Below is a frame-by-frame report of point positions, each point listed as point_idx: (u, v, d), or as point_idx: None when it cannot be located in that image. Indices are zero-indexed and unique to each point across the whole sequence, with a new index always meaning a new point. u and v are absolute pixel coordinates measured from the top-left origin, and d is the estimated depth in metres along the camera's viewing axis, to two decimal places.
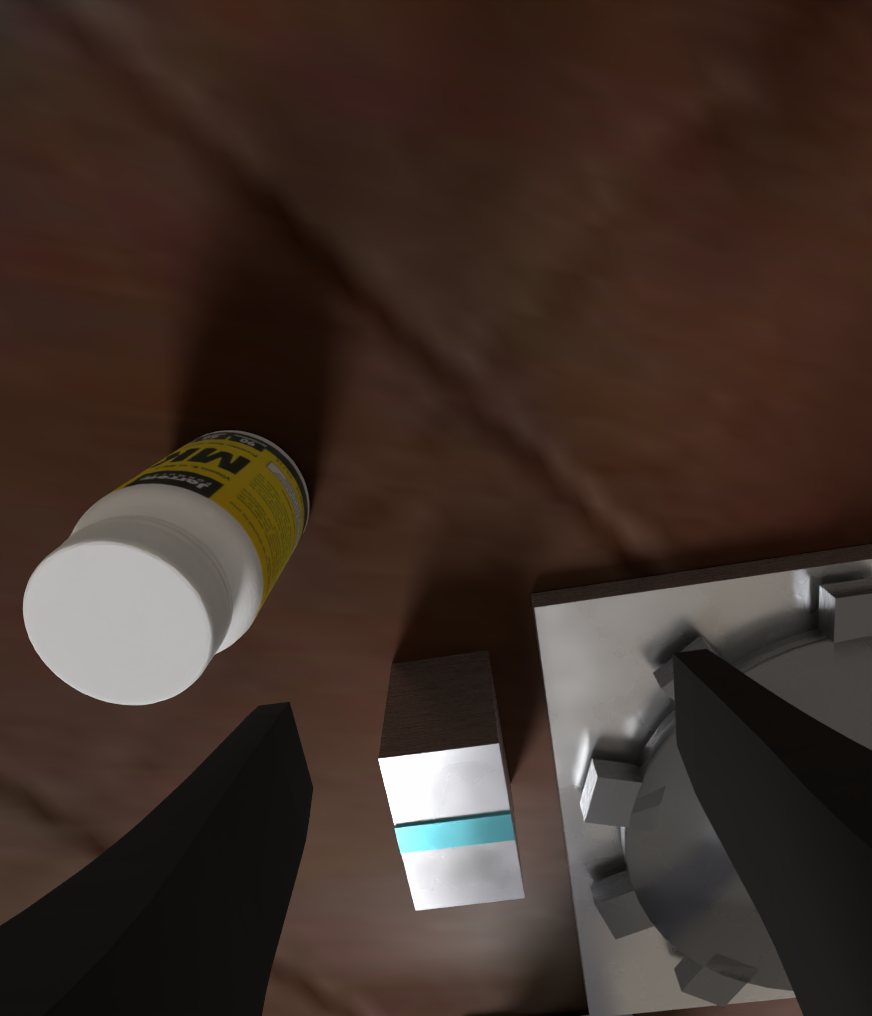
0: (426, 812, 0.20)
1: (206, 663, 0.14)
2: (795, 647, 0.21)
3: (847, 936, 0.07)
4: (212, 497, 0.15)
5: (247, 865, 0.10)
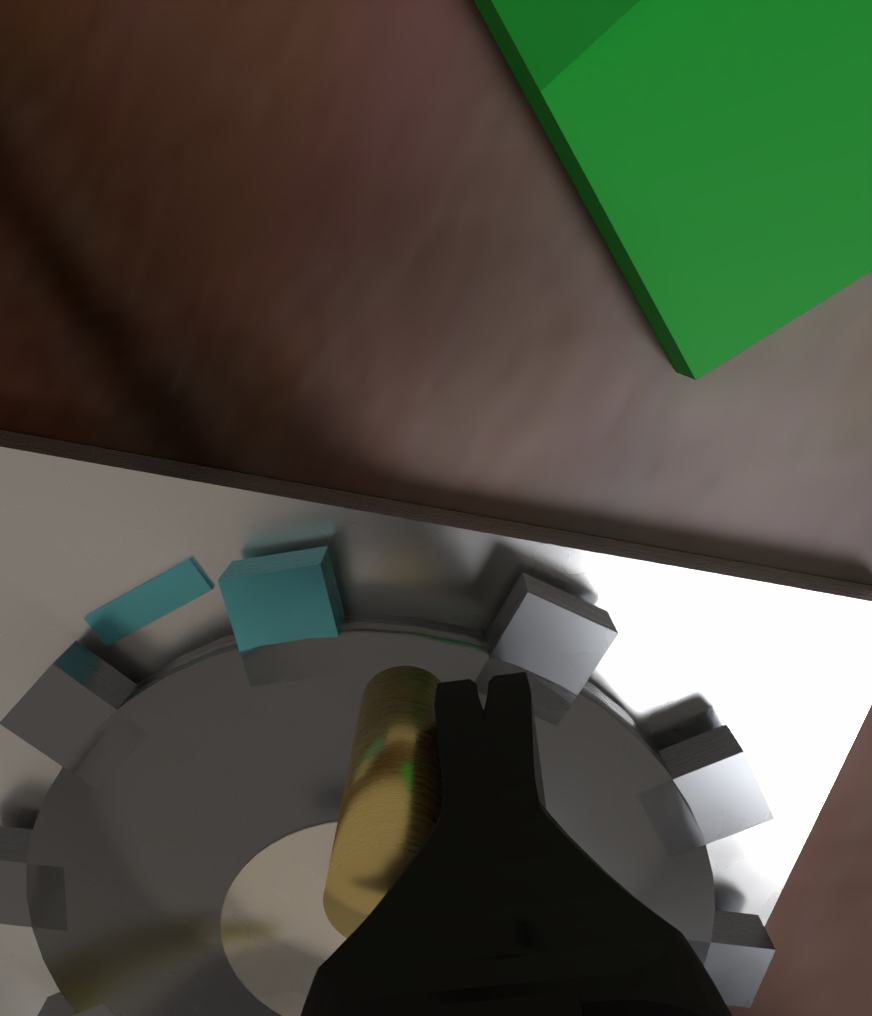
0: None
1: None
2: None
3: None
4: None
5: None
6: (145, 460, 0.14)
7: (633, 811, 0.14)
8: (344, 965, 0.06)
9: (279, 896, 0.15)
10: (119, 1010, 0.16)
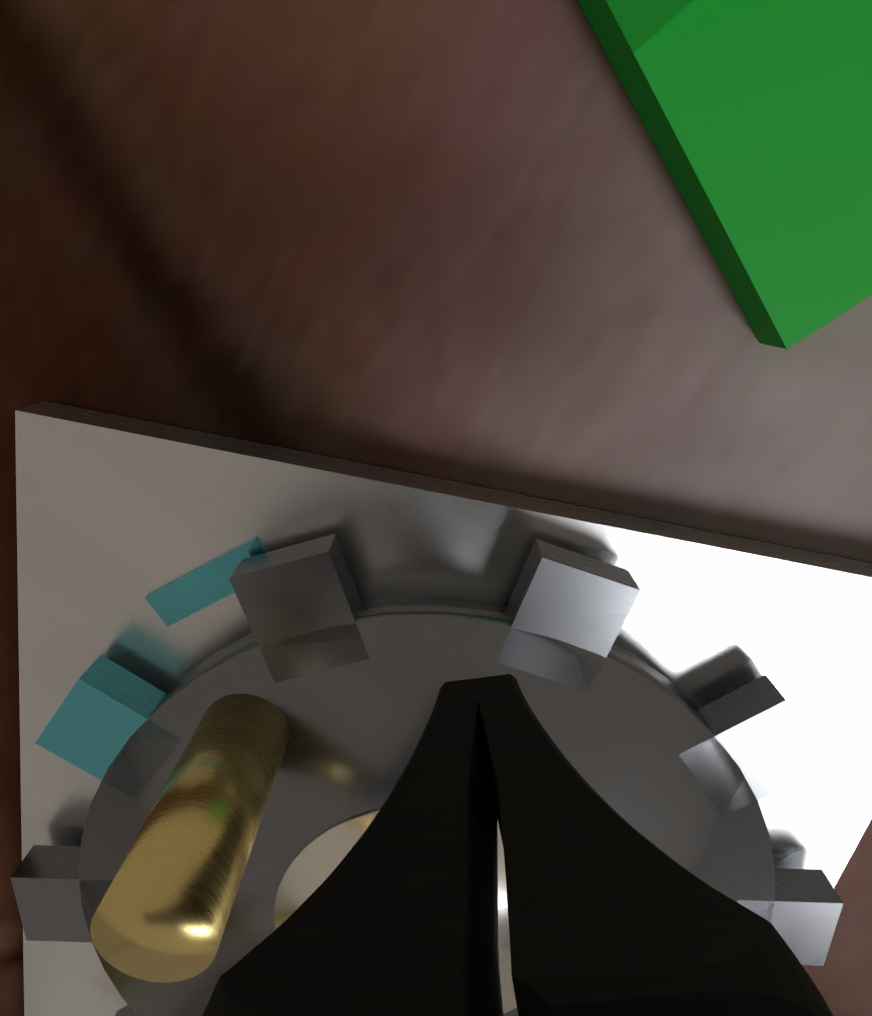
0: None
1: None
2: None
3: None
4: None
5: (482, 839, 0.09)
6: (211, 437, 0.13)
7: None
8: (244, 975, 0.06)
9: None
10: None
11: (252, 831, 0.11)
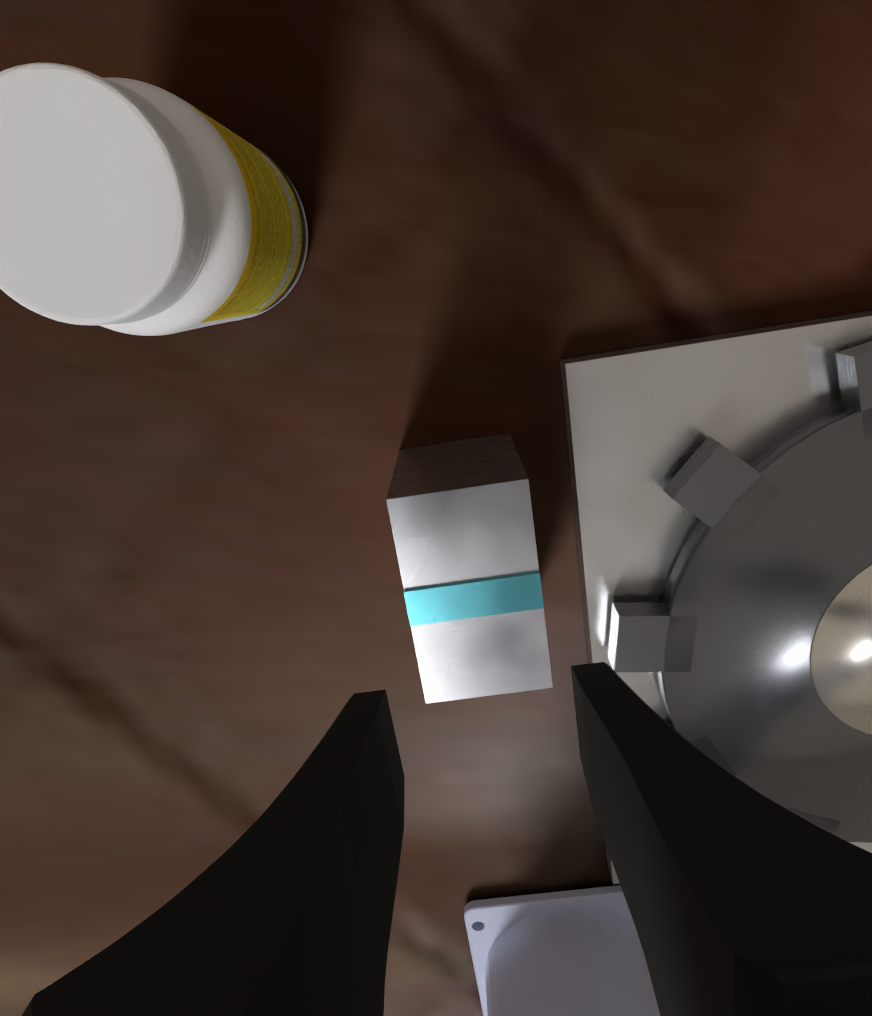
0: (442, 573, 0.17)
1: (176, 260, 0.11)
2: (690, 553, 0.20)
3: (676, 953, 0.07)
4: (189, 103, 0.13)
5: (367, 852, 0.10)
6: None
7: None
8: (56, 993, 0.06)
9: None
10: (702, 627, 0.20)
11: None
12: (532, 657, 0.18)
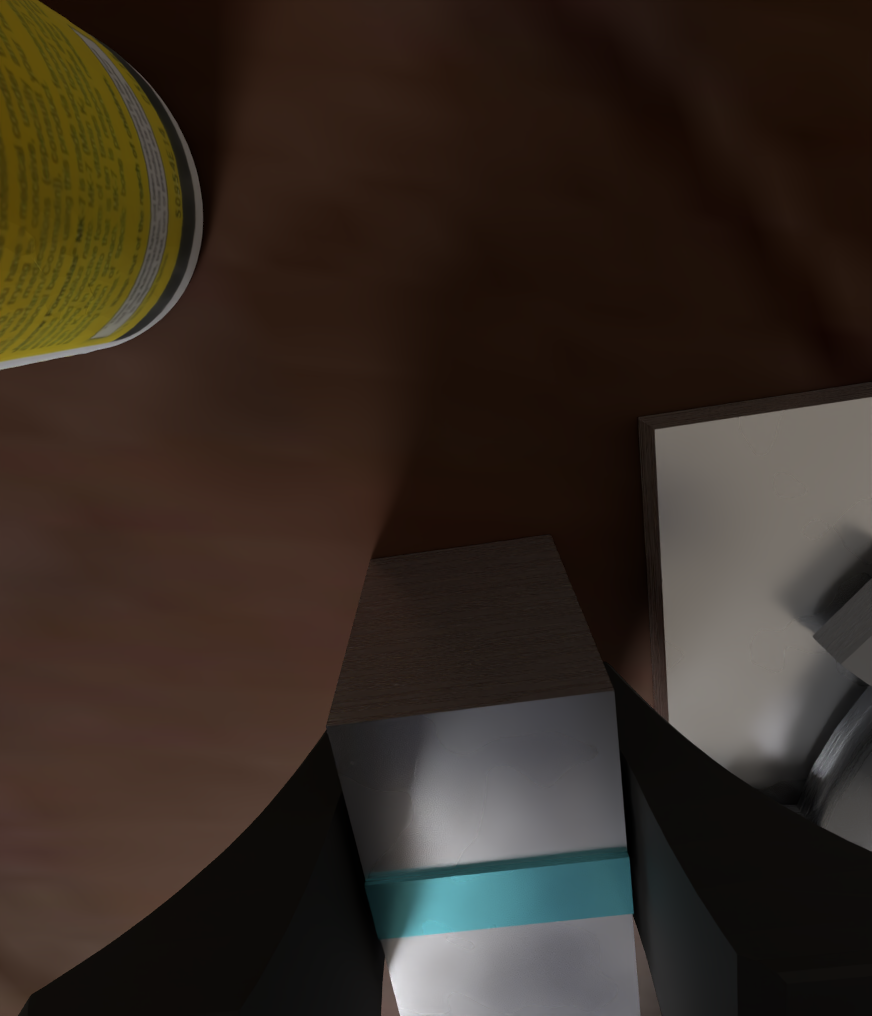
0: (438, 851, 0.09)
1: None
2: (858, 743, 0.12)
3: (678, 952, 0.07)
4: None
5: None
6: None
7: None
8: (52, 993, 0.06)
9: None
10: None
11: None
12: (606, 985, 0.09)
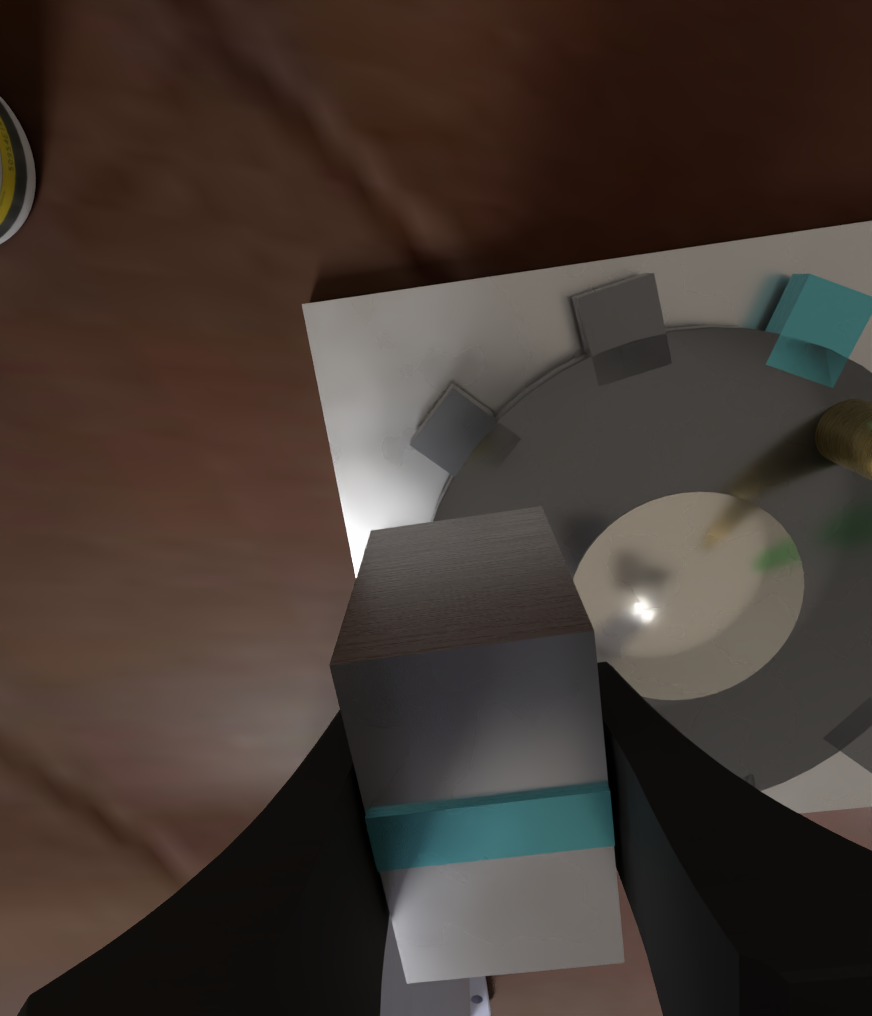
0: (433, 785, 0.09)
1: None
2: (439, 503, 0.19)
3: (679, 952, 0.07)
4: None
5: (364, 852, 0.10)
6: None
7: None
8: (51, 994, 0.06)
9: (654, 537, 0.19)
10: None
11: None
12: (591, 917, 0.10)
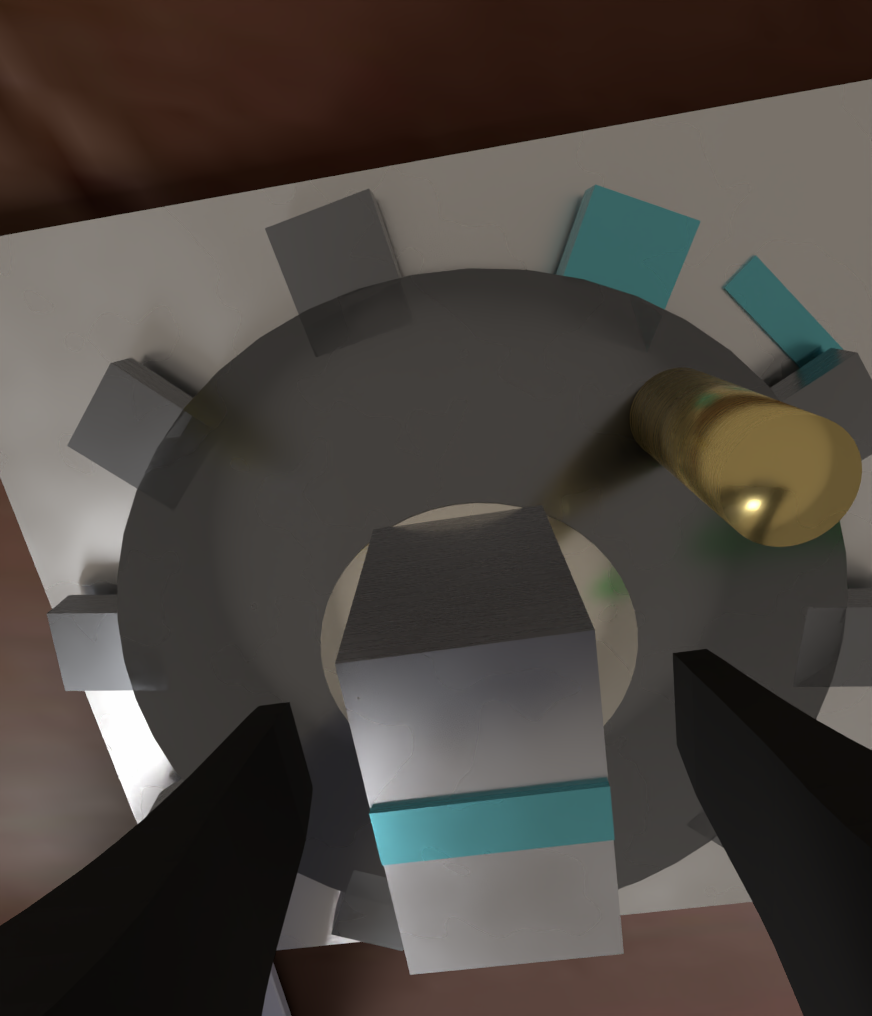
0: (436, 781, 0.10)
1: None
2: (131, 525, 0.14)
3: (847, 936, 0.07)
4: None
5: (247, 865, 0.10)
6: None
7: (794, 625, 0.14)
8: None
9: None
10: (166, 628, 0.15)
11: None
12: (591, 910, 0.10)
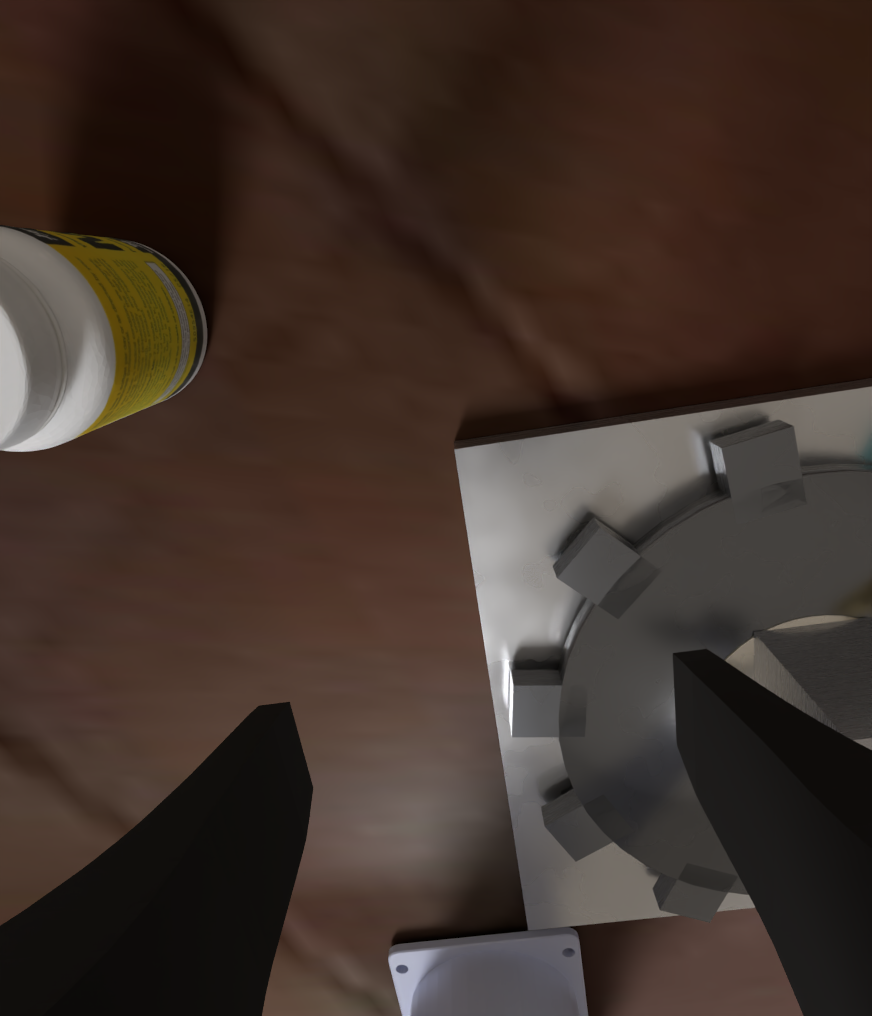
0: None
1: (23, 408, 0.12)
2: (579, 626, 0.21)
3: (847, 936, 0.07)
4: (51, 245, 0.13)
5: (247, 865, 0.10)
6: None
7: None
8: None
9: None
10: (593, 695, 0.21)
11: None
12: None
